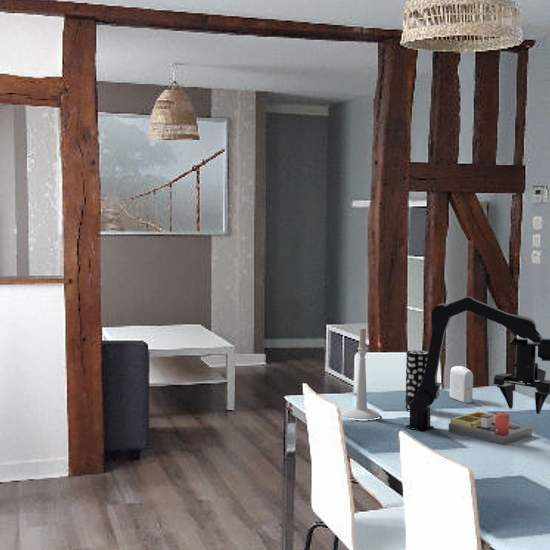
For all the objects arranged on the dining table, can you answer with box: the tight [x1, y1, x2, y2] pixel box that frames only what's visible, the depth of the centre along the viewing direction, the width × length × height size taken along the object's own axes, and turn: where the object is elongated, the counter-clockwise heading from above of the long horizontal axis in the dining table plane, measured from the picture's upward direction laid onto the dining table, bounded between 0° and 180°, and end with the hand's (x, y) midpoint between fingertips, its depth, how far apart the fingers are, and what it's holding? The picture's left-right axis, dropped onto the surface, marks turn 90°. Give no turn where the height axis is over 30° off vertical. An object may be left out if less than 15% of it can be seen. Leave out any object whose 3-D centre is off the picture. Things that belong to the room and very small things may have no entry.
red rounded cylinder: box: [495, 412, 510, 435], centre depth 247 cm, size 4×4×6 cm
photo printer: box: [449, 365, 474, 404], centre depth 304 cm, size 10×4×12 cm, turn 22°
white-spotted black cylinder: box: [404, 350, 431, 410], centre depth 287 cm, size 8×8×20 cm
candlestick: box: [341, 327, 382, 419], centre depth 277 cm, size 13×13×30 cm
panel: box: [448, 411, 533, 445], centre depth 257 cm, size 16×20×4 cm
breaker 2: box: [492, 410, 505, 423], centre depth 259 cm, size 2×2×3 cm
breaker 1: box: [481, 413, 493, 428], centre depth 254 cm, size 2×2×3 cm
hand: (524, 411), depth 252 cm, fingers open, 9 cm apart
